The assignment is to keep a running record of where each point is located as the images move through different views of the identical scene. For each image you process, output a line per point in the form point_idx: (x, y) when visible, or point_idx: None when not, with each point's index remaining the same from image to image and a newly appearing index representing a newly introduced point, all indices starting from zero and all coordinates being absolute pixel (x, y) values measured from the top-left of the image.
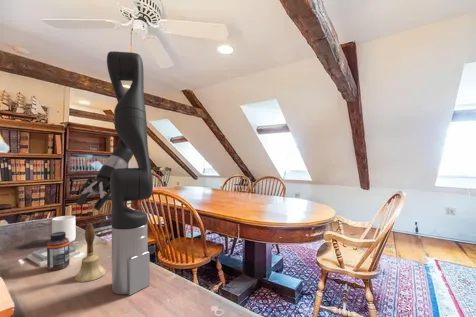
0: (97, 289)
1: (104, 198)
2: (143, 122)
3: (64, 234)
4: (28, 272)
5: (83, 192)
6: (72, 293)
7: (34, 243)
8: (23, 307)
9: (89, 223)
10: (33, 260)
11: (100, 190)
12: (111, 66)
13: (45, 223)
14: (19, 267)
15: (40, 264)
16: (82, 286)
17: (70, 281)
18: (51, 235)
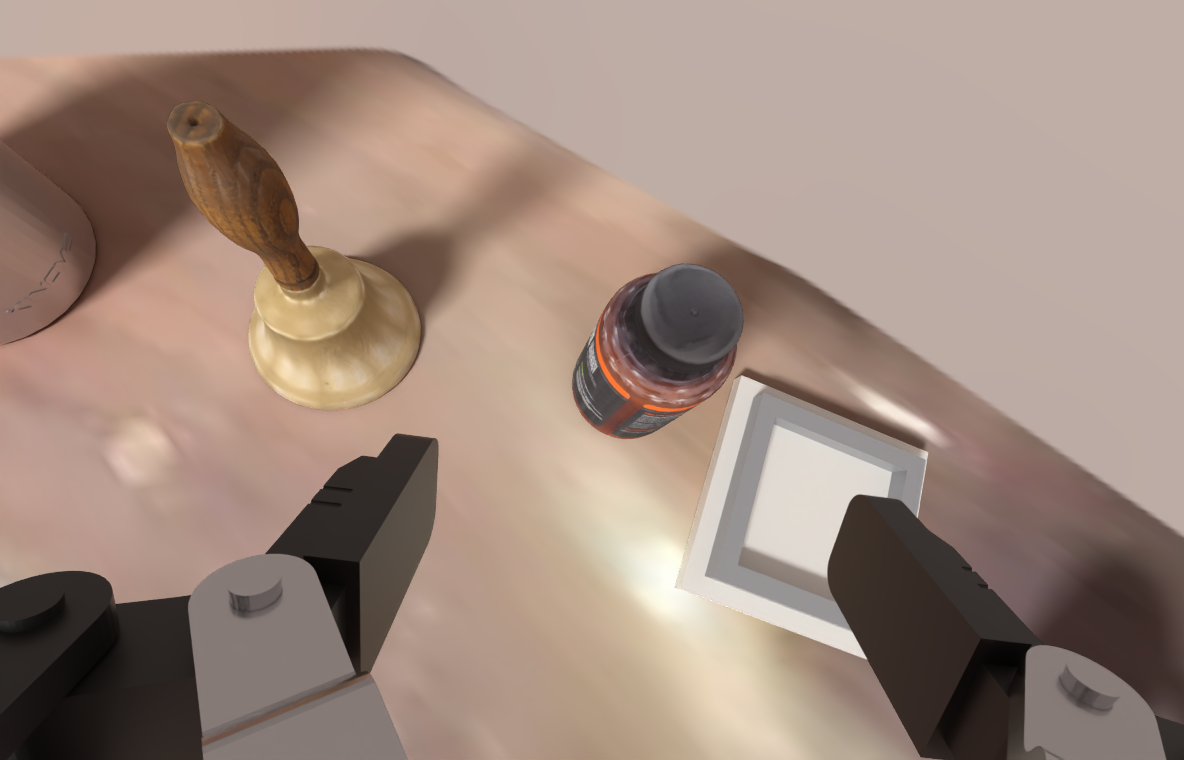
0: (180, 209)
1: (182, 597)
2: None
3: (641, 327)
4: None
5: (1077, 691)
6: (292, 168)
7: (1150, 671)
8: (421, 72)
9: (208, 133)
10: (835, 418)
11: (349, 756)
12: None
13: None
14: (823, 349)
15: (738, 378)
16: None
17: (402, 260)
18: (701, 266)
